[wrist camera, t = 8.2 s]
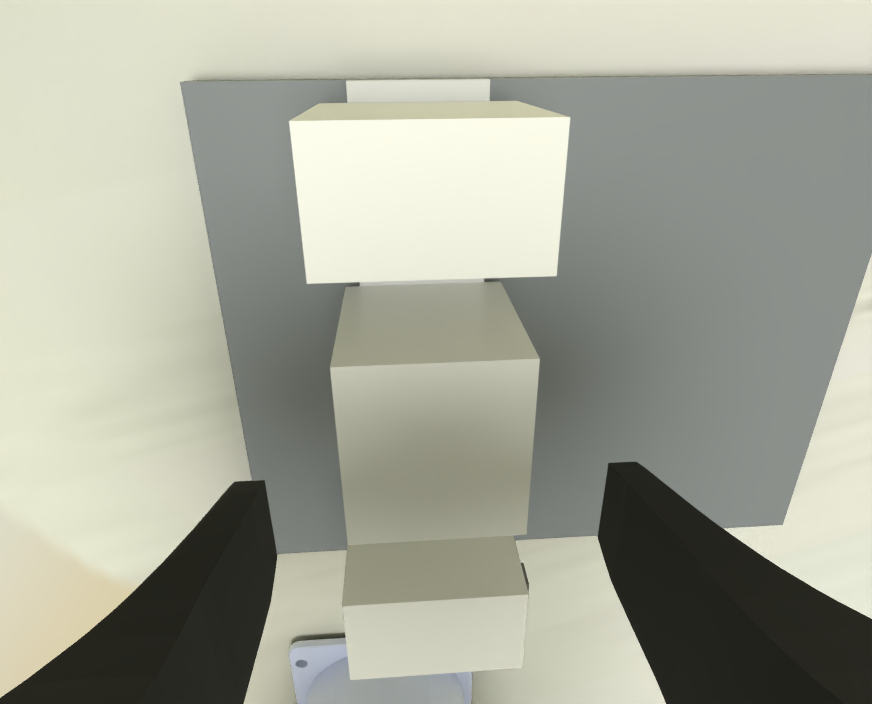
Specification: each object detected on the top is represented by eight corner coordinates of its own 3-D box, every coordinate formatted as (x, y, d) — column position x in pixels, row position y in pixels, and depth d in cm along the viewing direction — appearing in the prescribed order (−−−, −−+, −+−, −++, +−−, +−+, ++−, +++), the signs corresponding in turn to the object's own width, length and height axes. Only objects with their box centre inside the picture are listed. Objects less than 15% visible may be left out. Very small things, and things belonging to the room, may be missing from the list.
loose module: (495, 425, 19) (526, 534, 15) (357, 432, 19) (348, 545, 15) (501, 281, 17) (540, 358, 13) (345, 286, 17) (329, 367, 12)
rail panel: (765, 504, 24) (890, 652, 18) (271, 531, 23) (228, 700, 17) (896, 73, 17) (1175, 80, 11) (193, 80, 16) (74, 92, 10)
